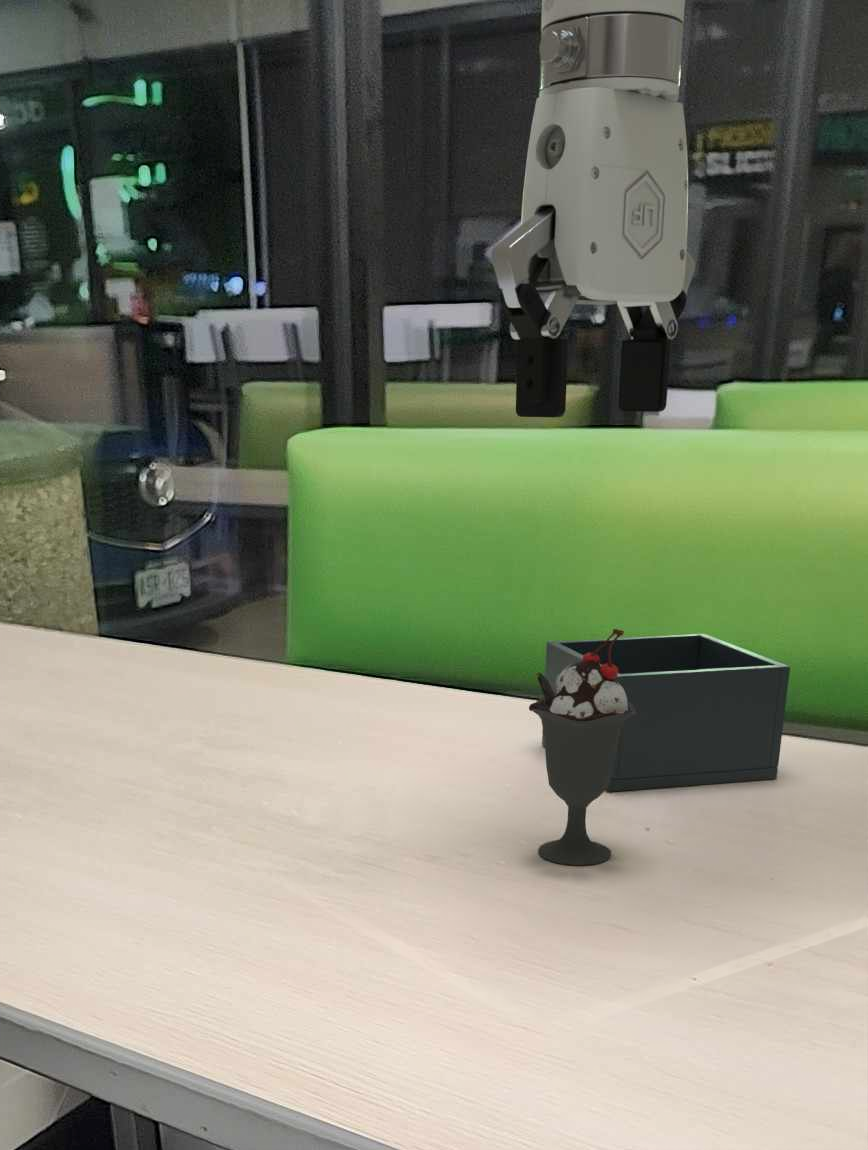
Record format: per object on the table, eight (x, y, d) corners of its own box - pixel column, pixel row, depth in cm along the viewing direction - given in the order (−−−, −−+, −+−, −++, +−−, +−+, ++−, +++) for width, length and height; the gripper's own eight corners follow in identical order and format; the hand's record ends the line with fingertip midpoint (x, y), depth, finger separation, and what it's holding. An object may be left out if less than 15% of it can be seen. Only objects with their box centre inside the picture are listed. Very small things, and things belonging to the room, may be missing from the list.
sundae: (645, 856, 89) (664, 631, 83) (570, 876, 86) (584, 642, 80) (579, 831, 94) (592, 616, 88) (505, 849, 91) (514, 627, 85)
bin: (694, 734, 119) (704, 633, 116) (776, 779, 106) (790, 666, 103) (541, 745, 116) (546, 641, 112) (607, 792, 103) (615, 676, 99)
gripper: (563, 35, 64) (549, 420, 71) (757, 80, 74) (728, 410, 81) (449, 61, 69) (446, 418, 76) (646, 99, 79) (628, 408, 86)
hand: (592, 413), depth 78 cm, fingers open, 9 cm apart
